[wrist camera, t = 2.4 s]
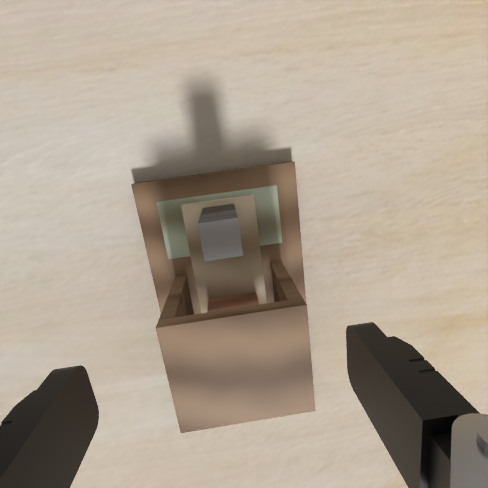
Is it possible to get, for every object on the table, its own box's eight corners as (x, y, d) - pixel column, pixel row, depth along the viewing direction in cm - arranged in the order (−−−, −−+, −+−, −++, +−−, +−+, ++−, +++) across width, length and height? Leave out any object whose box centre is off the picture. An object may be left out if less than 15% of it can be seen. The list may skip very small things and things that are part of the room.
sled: (182, 204, 30) (169, 220, 23) (252, 194, 31) (263, 207, 23) (215, 381, 36) (214, 441, 29) (274, 371, 37) (288, 429, 29)
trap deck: (134, 183, 31) (88, 198, 20) (292, 161, 32) (330, 165, 21) (188, 420, 40) (176, 521, 29) (311, 400, 40) (346, 491, 29)
